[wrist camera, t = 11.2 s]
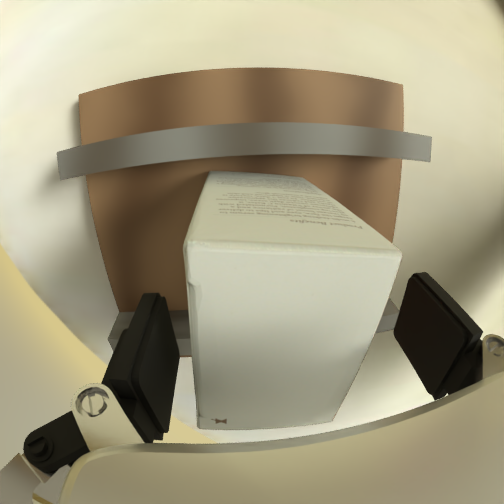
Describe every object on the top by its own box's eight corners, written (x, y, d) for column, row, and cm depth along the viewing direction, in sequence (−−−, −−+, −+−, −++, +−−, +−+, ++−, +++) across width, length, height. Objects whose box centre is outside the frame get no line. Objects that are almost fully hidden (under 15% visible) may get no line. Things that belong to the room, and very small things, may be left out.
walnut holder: (393, 85, 15) (431, 82, 11) (365, 327, 23) (384, 359, 20) (87, 95, 13) (52, 91, 9) (139, 347, 22) (129, 384, 18)
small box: (286, 291, 19) (333, 425, 10) (204, 290, 18) (196, 433, 9) (305, 174, 16) (412, 252, 6) (207, 167, 15) (181, 243, 6)
